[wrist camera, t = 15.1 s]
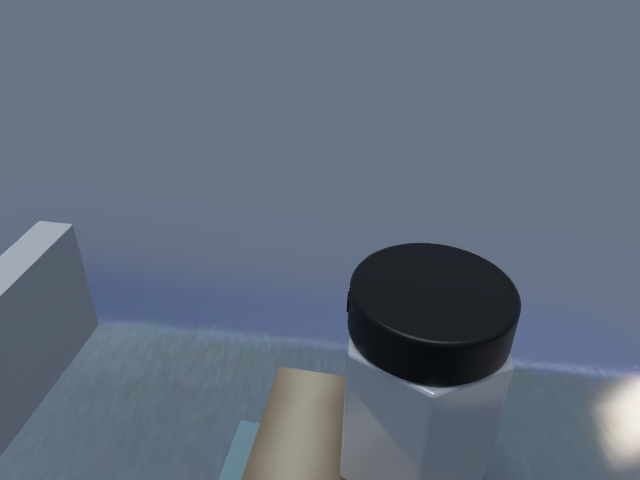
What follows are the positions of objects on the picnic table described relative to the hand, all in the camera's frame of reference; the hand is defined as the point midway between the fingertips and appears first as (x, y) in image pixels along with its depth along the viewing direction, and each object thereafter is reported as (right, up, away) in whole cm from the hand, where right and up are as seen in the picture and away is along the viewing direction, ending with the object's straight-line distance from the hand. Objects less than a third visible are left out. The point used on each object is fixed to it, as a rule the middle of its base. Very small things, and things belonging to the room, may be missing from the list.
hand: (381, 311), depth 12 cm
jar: (+4, -11, +23) cm, 26 cm away
